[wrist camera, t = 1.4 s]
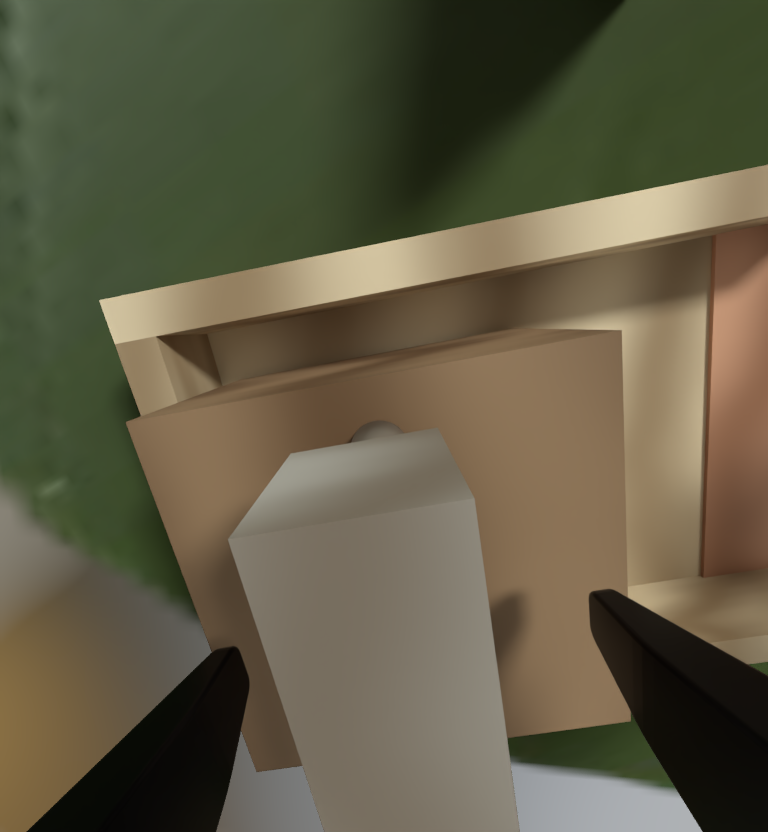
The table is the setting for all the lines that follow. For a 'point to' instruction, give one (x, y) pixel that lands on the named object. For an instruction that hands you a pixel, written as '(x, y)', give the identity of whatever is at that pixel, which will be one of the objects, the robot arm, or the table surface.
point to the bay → (546, 309)
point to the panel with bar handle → (406, 562)
